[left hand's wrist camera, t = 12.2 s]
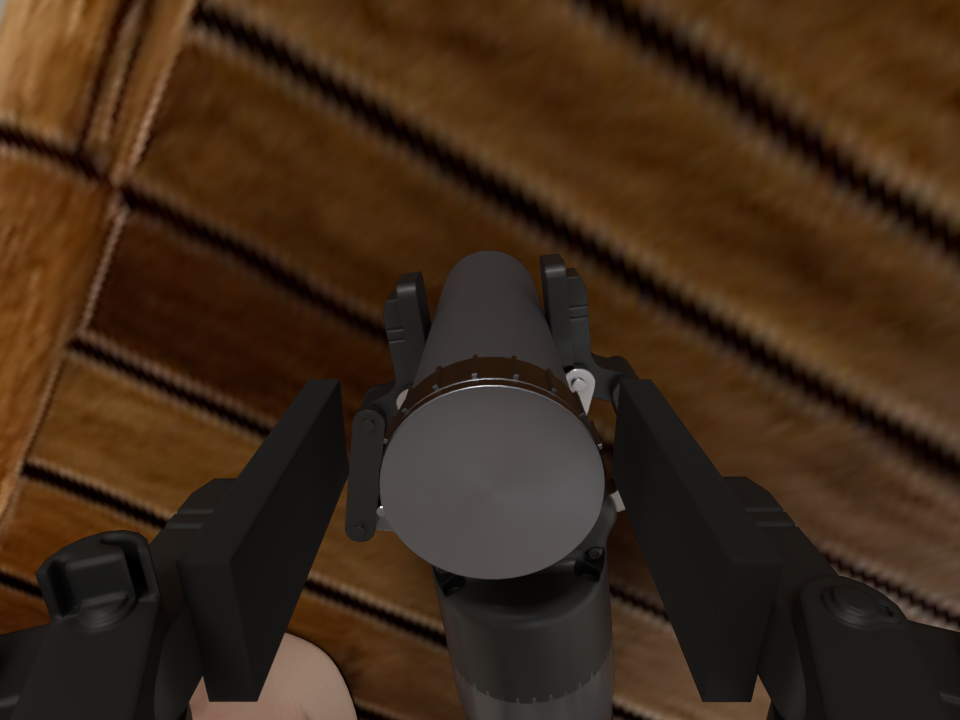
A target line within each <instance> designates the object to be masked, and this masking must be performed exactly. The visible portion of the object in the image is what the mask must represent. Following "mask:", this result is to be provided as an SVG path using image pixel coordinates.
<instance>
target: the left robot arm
mask: <svg viewBox="0 0 960 720" xmlns="http://www.w3.org/2000/svg"><path fill="white" fill-rule="evenodd" d="M348 475H349V471H348V461H347V450H346V440H345V430H344V419H343V409H342V399H341V388H340V380H309V381H308V382H307V383H306V385H305V386H304V387H303V389H302V390H301V391H300V393H299V394H298V396H297V397H296V398H295V400H294V401H293V402H292V404H291V405H290V406H289V408H288V409H287V411H286V412H285V413H284V415H283V416H282V417H281V419H280V420H279V421H278V423H277V424H276V426H275V427H274V428H273V430H272V431H271V432H270V434H269V435H268V436H267V438H266V439H265V441H264V442H263V443H262V445H261V446H260V447H259V449H258V450H257V451H256V453H255V454H254V456H253V457H252V458H251V460H250V461H249V462H248V464H247V465H246V466H245V468H244V469H243V471H242V472H241V473H240V475H239V476H238V477H237V479H213V480H212V481H210V482H208V483H207V484H205V485H204V486H202V487H201V488H199V489H198V490H196V491H195V492H193V493H192V494H191V495H190V496H189V498H188V499H187V500H186V501H185V502H184V504H183V505H182V506H181V507H180V508H179V510H178V513H177V514H174V516H173V517H172V518H171V519H170V520H169V522H168V523H167V524H166V527H165V529H162V530H161V531H160V532H159V534H158V535H157V536H156V537H155V538H154V540H153V541H152V542H151V543H150V544H149V545H148V541H147V539H146V538H145V537H144V536H142V535H141V534H140V533H138V532H133V531H127V530H118V531H107V532H102V533H99V534H95V535H92V536H88V537H85V538H82V539H80V540H78V541H76V542H74V543H71V544H69V545H67V546H65V547H63V548H62V549H60V550H59V551H57V552H56V553H55V554H53V555H52V556H50V557H49V558H48V559H46V560H45V561H44V563H43V564H42V565H41V566H40V568H39V569H38V570H37V571H36V572H35V575H36V578H37V581H38V583H39V586H40V589H41V592H42V595H43V597H44V600H45V603H46V606H47V609H48V612H49V614H50V617H51V620H52V622H51V623H48V624H45V625H41V626H36V627H32V628H28V629H23V630H19V631H15V632H10V633H6V634H2V635H0V720H193V718H192V711H191V707H190V704H189V701H190V699H191V697H192V695H193V694H194V692H195V690H196V688H197V686H198V684H199V682H200V680H201V678H202V676H203V679H204V683H205V687H206V691H207V696H208V700H209V702H257V701H258V699H259V696H260V694H261V691H262V689H263V686H264V684H265V681H266V679H267V676H268V674H269V671H270V669H271V666H272V664H273V661H274V659H275V656H276V654H277V651H278V649H279V646H280V644H281V641H282V639H283V637H284V634H285V632H286V629H287V627H288V624H289V622H290V619H291V617H292V614H293V612H294V609H295V607H296V604H297V602H298V599H299V597H300V594H301V592H302V589H303V587H304V584H305V582H306V579H307V577H308V574H309V572H310V569H311V567H312V564H313V562H314V559H315V557H316V554H317V552H318V549H319V547H320V544H321V542H322V539H323V537H324V534H325V532H326V529H327V527H328V524H329V522H330V519H331V517H332V514H333V512H334V509H335V507H336V504H337V502H338V499H339V497H340V494H341V492H342V489H343V487H344V484H345V482H346V479H347V477H348ZM611 475H612V477H613V479H614V482H615V484H616V487H617V489H618V492H619V494H620V497H621V499H622V502H623V504H624V507H625V509H626V512H627V514H628V517H629V519H630V522H631V524H632V527H633V529H634V532H635V534H636V537H637V539H638V542H639V544H640V547H641V549H642V552H643V554H644V557H645V559H646V562H647V564H648V567H649V569H650V572H651V574H652V577H653V579H654V582H655V584H656V587H657V589H658V592H659V594H660V597H661V599H662V602H663V604H664V607H665V609H666V612H667V614H668V617H669V619H670V622H671V624H672V627H673V629H674V632H675V634H676V637H677V639H678V641H679V644H680V646H681V649H682V651H683V654H684V656H685V659H686V661H687V664H688V666H689V669H690V671H691V674H692V676H693V679H694V681H695V684H696V686H697V689H698V691H699V694H700V696H701V699H702V701H703V702H751V700H752V696H753V691H754V687H755V683H756V679H757V675H759V677H760V679H761V681H762V683H763V685H764V687H765V689H766V691H767V692H768V694H769V696H770V698H771V703H770V707H769V711H768V715H767V719H766V720H960V632H956V631H952V630H947V629H943V628H939V627H934V626H930V625H926V624H921V623H917V622H914V621H910V620H907V618H906V617H905V615H904V614H903V612H902V611H901V609H900V608H899V607H898V606H897V605H896V604H895V603H894V602H892V601H891V600H890V599H889V598H888V597H886V596H885V595H884V594H883V593H881V592H879V591H877V590H875V589H874V588H872V587H870V586H868V585H866V584H864V583H862V582H859V581H856V580H853V579H850V578H847V577H843V576H839V575H838V574H837V573H836V572H835V570H834V569H833V568H832V567H831V566H830V565H829V563H828V562H827V561H826V560H825V559H824V557H823V556H822V555H821V554H820V553H819V551H818V550H817V549H816V548H815V547H814V545H813V544H812V543H811V542H810V541H809V539H808V538H807V537H806V536H805V535H804V533H803V532H802V531H801V530H800V529H799V527H795V523H794V521H793V520H792V519H791V518H790V517H789V515H788V514H787V513H786V512H783V508H782V507H781V506H780V505H779V504H778V502H777V501H776V500H775V499H774V498H773V496H772V495H771V494H770V493H769V492H768V491H767V490H765V489H764V488H762V487H761V486H759V485H758V484H756V483H755V482H753V481H752V480H750V479H748V478H747V477H722V476H721V475H720V473H719V472H718V471H717V469H716V468H715V466H714V465H713V464H712V462H711V461H710V460H709V458H708V457H707V456H706V454H705V453H704V451H703V450H702V449H701V447H700V446H699V445H698V443H697V442H696V441H695V439H694V438H693V436H692V435H691V434H690V432H689V431H688V430H687V428H686V427H685V426H684V424H683V423H682V421H681V420H680V419H679V417H678V416H677V415H676V413H675V412H674V411H673V409H672V408H671V406H670V405H669V404H668V402H667V401H666V400H665V398H664V397H663V396H662V394H661V393H660V391H659V390H658V389H657V387H656V386H655V385H654V383H653V382H652V381H651V380H620V388H619V399H618V409H617V419H616V430H615V440H614V450H613V460H612V471H611Z"/></svg>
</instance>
